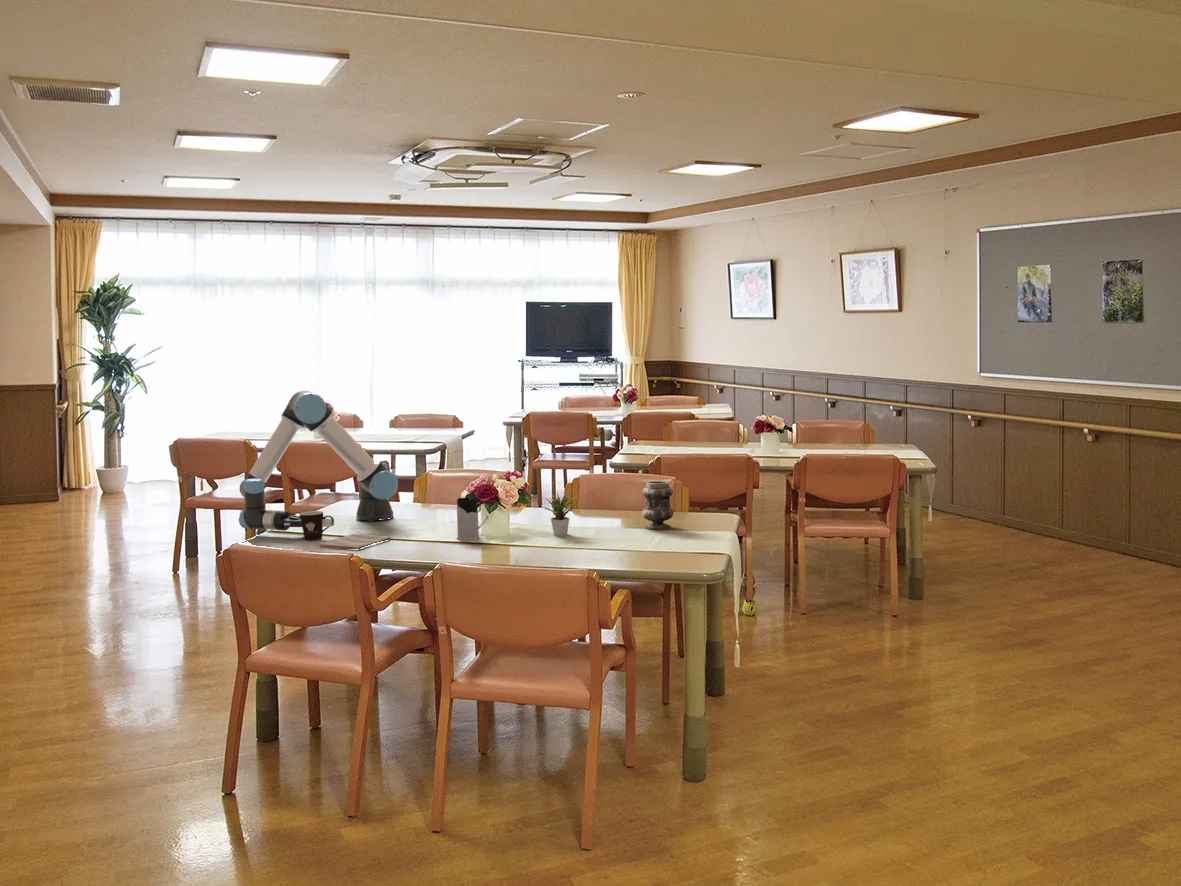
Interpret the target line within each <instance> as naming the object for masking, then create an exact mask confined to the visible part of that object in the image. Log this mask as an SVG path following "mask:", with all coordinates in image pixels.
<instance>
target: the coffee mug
mask: <svg viewBox="0 0 1181 886" xmlns="http://www.w3.org/2000/svg"><path fill="white" fill-rule="evenodd" d="M299 516H300V517H301V521H302V526H303V527H301V528H302V532H303V537H304V538H303V539H304V541H306V542H307V541H308V542H315V541H321V540H322V539H323V533H324V531H326V530H327V529H329V528H330V527H322V525H321V522H322V519H325V518H331V519H332V523H331V525H332V524H333V522H334V523H335V518H334V519H333V516H331V515H325V516H324V511H322V510H321V511H319V510H311V511H305V512H304V511H303V512H301V513H299ZM323 528H324V529H323Z"/></svg>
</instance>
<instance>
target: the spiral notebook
mask: <svg viewBox="0 0 1181 886" xmlns="http://www.w3.org/2000/svg"><path fill="white" fill-rule="evenodd" d="M389 539H391V540H392V538H391V536H386V535H372V534H362V533H361V534H360V533H352V534H349V535H348V534H347V535H346V536H343V537H339V538H336V539H335V538H334V539H332V540H329V541H325V542H322V543H320V544H319V547H320V548H324V549H325V548H327V549H336V550H345V549H360V548H362V547H365V546H368V545H371V544H373V543H377V542H381V541H385V540H389ZM389 541H390V540H389Z"/></svg>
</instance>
